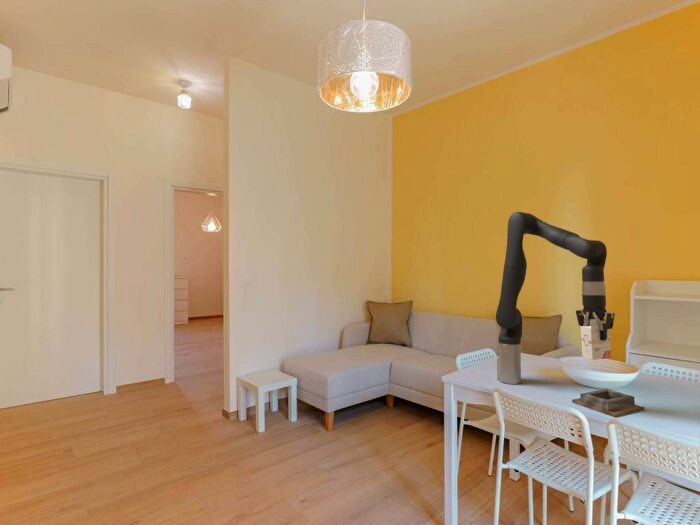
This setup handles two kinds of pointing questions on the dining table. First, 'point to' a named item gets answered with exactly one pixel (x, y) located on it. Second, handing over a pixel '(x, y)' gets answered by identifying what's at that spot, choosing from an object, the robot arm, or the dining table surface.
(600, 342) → the ink cartridge box
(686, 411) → the dining table surface
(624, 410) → the socket plate
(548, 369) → the dining table surface
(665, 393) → the dining table surface
